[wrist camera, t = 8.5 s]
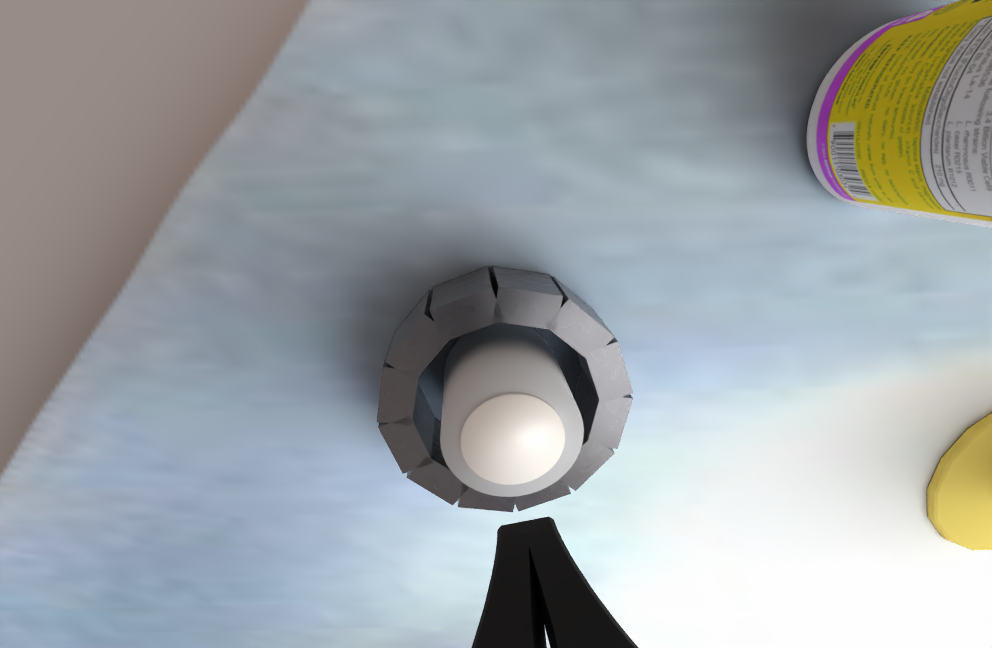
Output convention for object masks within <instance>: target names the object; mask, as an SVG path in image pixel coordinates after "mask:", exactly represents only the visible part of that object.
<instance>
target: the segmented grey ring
mask: <svg viewBox="0 0 992 648" xmlns="http://www.w3.org/2000/svg"><path fill="white" fill-rule="evenodd" d="M497 322H501V323H508V324H515V325H522V326H529V327H536V328H543V329H549V330H551V331H552V332H553V333H554V334H556V335H557V336H558V337H560V338H561V339H562V340H563V341H565V342H566V343H567V344H568V345H570V346H571V347H572V348H573V349H575V350H576V352H577V355H578V358H579V361H580V364H581V369H580V373H579V377H578V381H577V384H576V388H575V392H574V396H573V397H574V400H575V402H576V404H577V406H578V409H579V411H580V413H581V417H582V420H583V427H584V437H583V443H582V447H581V450H580V453H579V455H578V457H577V459H576V461H575V462H574V464H573V465H572V467H571V468H570V469H569V470H568V471H567V473H566V474H564V475H563V476H562V477H561V478H560V479H559V480H557V481H556V482H555V483H553V484H552V485H550V486H548V487H546V488H544V489H542V490H540V491H537V492H534V493H531V494H527V495H522V496H514V497H500V496H493V495H489V494H485V493H482V492H479V491H476V490H474V489H473V488H471V487H469V486H467V485H466V484H464V483H463V482H461V481H460V480H459V479H458V478H457V477H456V476H455V475H454V474H453V473H452V471H451V470H450V469H449V467H448V465H447V464H446V462H445V459H444V457H443V454H442V450H441V444H440V432H441V422H440V421H438V420H437V419H435V417H434V415H433V413H432V411H431V409H430V407H429V405H428V403H427V401H426V399H425V397H424V395H423V392H422V390H421V388H420V386H419V384H418V383H419V376H420V374H421V373H422V372H423V370H424V369H425V368H426V367H427V366H428V365H429V363H430V362H431V361H432V360H433V359H434V358H435V356H436V355H437V354H438V353H439V352H440V351H441V349H442V348H443V347H444V346H445V345H446V344H447V342H448V341H449V340H451V339H454V338H456V337H459V336H462V335H465V334H467V333H470V332H473V331H476V330H478V329H481V328H484V327H487V326H489V325H492V324H495V323H497ZM632 393H633V392H632V388H631V385H630V381H629V378H628V375H627V371H626V368H625V364H624V361H623V357H622V354H621V351H620V347H619V344H618V341H617V340H616V339H615V337H614V335H613V334H612V333H611V331H610V330H609V329H608V328H607V326H606V325H605V324H604V323H603V321H602V320H601V319H600V318H599V316H598V315H597V314H596V313H595V311H594V310H593V309H592V308H590V307H589V306H588V305H587V304H586V303H584V302H583V301H582V300H581V299H580V298H578V297H577V296H576V295H575V294H574V293H572V292H571V291H570V290H569V289H568V288H566V287H565V286H564V285H563V284H562V283H560V282H559V281H558V280H557V279H556V278H554V277H553V278H552V279H551V278H550V276H549V275H548V274H542V273H535V272H529V271H522V270H516V269H510V268H503V267H497V266H493V270H492V275H490V273H489V270H488V267H485V268H482V269H479V270H477V271H474V272H471V273H469V274H466V275H463V276H461V277H458V278H455V279H453V280H450V281H447V282H444V283H442V284H439V285H436V286H434V289H433V292H431V291H430V290H429V291H428V292H427V293H426V294H425V296H424V297H423V298H422V299H421V300H420V302H419V303H418V304H417V305H416V307H415V308H414V309H413V310H412V312H411V313H410V314H409V315H408V316H407V318H406V319H405V320H404V321H403V323H402V324H401V325H400V326H399V327H398V329H397V330H396V331H395V334H394V336H393V339H392V342H391V345H390V348H389V350H388V353H387V356H386V359H385V362H384V365H383V370H382V380H381V389H380V398H379V408H378V417H377V422H380V423H379V426H378V428H379V430H380V432H381V434H382V435H383V437H384V439H385V441H386V443H387V445H388V447H389V448H390V450H391V452H392V454H393V456H394V458H395V460H396V461H397V463H398V465H399V467H400V469H401V471H402V473H406V472H408V474H407V478H408V479H410V480H412V481H413V482H415V483H417V484H418V485H420V486H422V487H423V488H425V489H427V490H428V491H430V492H431V493H433V494H435V495H436V496H438V497H440V498H441V499H443V500H445V501H446V502H448V503H450V504H451V505H453V504H454V503H455V502H456V501H457V500H458V507H463V508H474V509H484V510H495V511H506V512H513V509H514V505H516V507H517V509H518V511H521V510H524V509H527V508H530V507H533V506H536V505H539V504H542V503H545V502H548V501H551V500H554V499H557V498H559V497H562V496H565V495H568V494H571V493H570V490H569V487H571V488H572V489H574V490H575V491H576V490H577V489H578V488H579V487H580V486H581V485H582V484H583V483H584V482H585V481H586V480H587V479H588V478H589V477H590V476H591V475H593V474H594V473H595V472H596V471H597V470H598V469H599V468H600V467H601V466H602V465H603V464H604V463H605V462H606V461H607V460H608V459H609V458H610V457H611V456H612V455H613V454H614V451H613V449H612V448H616V449H617V448H618V445H619V442H620V439H621V435H622V432H623V429H624V426H625V422H626V419H627V416H628V413H629V409H630V406H631V403H632V400H633V398H632V397H631V395H630V394H632Z"/></svg>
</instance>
